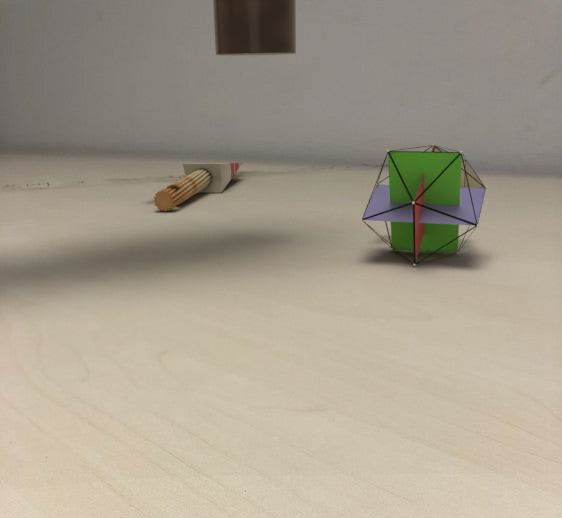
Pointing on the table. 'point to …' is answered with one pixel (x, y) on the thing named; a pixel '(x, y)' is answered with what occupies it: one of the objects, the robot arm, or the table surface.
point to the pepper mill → (255, 27)
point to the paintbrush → (196, 182)
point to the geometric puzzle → (427, 200)
